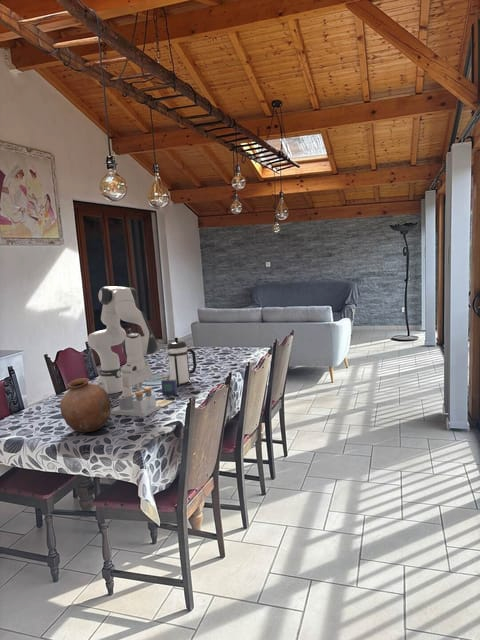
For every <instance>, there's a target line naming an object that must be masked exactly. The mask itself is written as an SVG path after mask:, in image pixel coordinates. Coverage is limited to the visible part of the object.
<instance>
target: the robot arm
mask: <svg viewBox="0 0 480 640" xmlns="http://www.w3.org/2000/svg"><path fill="white" fill-rule="evenodd" d="M98 300H99V303H101V305H102V307H101V308H102V309H101V314H100V321H101V322H102V324H103V325H105V326H106V328H105V329H102V330H97V331H94V332H92V333H89V334H88V336H87V344H88V347H90V348H91V349H92V350H94V351H95V352H96V353H97V355H98V357H99V360H100V365H101V366H100V367H101V369H100V370H99V371H98V373H99V376H98V377H97V378H96V379H95V380H94V381H93V382H92V384H94V385H97V386H100V387H101V388H103V389H104V390H105V391H106V392H107V394H108V395H110V394H116V393H120V392H123V390H122V383H123V386H124V387H131V386H132V387H133V386H134V388H135V392H139V391H143V385H144V381H147V380H149V379H151V378H152V376H153V373H152V369H151V365H150V363H149V362H148V361H147V360H145V356H144V355H154V354H155V353H156V351H157V350H158V346H159V345H158V341H157V339H156V337H155V335H154V334H153V331H152V329H151V326H150V325H149V322H148V319H147V317H146V315H145V313H144V312H143V311H141V310H140V309H138V308H137V305H136V303H137V301H138V291H137V290H136V288H134V287H130V286H129V287H126V286H120V285H119V286H107V285H106V286H102V287H101V288H100V289H99V292H98ZM121 320H122V321H123V322H126V323H131V324H136V325H138V326H140V328H141V331H142V332H143V336H141V333H138V332H131V333H127V332H126V331H125V329H124V328H123V327H122V326H121ZM120 344H121V347H122V349H121V350H122V355H124V356H126V363H125V364H124V365H123V366H121V365H120V357H119V356H120V355H119V354H118V353H116V352H114V351H112V348H111V347H114V346H118V345H120Z"/></svg>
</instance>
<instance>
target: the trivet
mask: <svg viewBox="0 0 480 640" xmlns="http://www.w3.org/2000/svg"><path fill="white" fill-rule="evenodd" d="M173 402H174V400H166V399H165V400H164V399H157V400H156V404H159V405H160V409H161V408H162V409H163V408H166V407H167V406H168V405H170V404H172V403H173Z"/></svg>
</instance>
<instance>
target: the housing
mask: <svg viewBox="0 0 480 640" xmlns="http://www.w3.org/2000/svg"><path fill="white" fill-rule="evenodd" d="M132 393H133V392H132ZM142 396H143V400H141V401H137V400H136V395H135V392H134V393H133V397H129V398H123V394H121V395H118V404H119V405H118V406H116V407H113V408H112V409H111V414H110V415H118V416H119V415H122V416H129V417H130V416H132V417H138V418H139V417H141V418H142V417H143V418H145V417H147V416H149V415H150V414H153V413H155V412H156V411H157V410H160V409H161V408H160V405H159V404H156V401H157V400H156V393H151V396H145V394H142Z"/></svg>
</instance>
